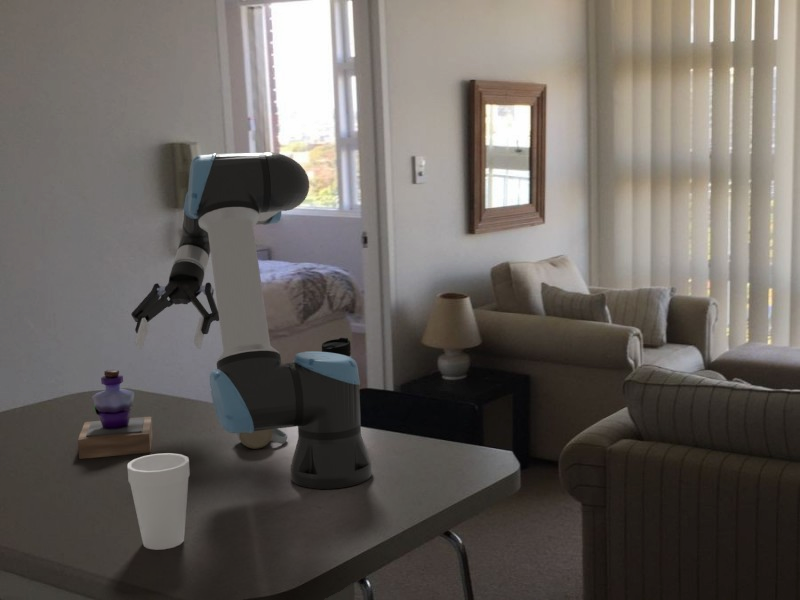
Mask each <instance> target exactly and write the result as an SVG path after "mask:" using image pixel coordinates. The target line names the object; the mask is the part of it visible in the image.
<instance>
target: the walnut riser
mask: <svg viewBox="0 0 800 600" xmlns="http://www.w3.org/2000/svg"><path fill="white" fill-rule="evenodd" d="M102 427H103V426H102V423H101V420H94V421H84V423H83V426H82V429H81V430H80V433H79V436H78V439H77V445H78V446H77V449H78V456H79V457H78V459H80V460H82V459H93V458H105V457H114V456H117V457H118V456H127V455H137V454H138V455H139V454H149V453H151V451H152V442H153V436H154V434H153V433H154V432H153V431H154V430H153V429H154V428H153V418H152V416H141V417H130V418H129V424H128V425H127V426H125V428H121V429H117V430H106V429H104V428H102Z"/></svg>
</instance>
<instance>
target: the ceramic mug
mask: <svg viewBox="0 0 800 600" xmlns="http://www.w3.org/2000/svg"><path fill="white" fill-rule="evenodd" d="M236 435H237V437H238V439H239V441H240V442H241V444H242V445H243V446H245V447H247V448H249V449H252V450H253V449H254V450H258V449H263V448H264V447H266V446H267V445H268V444H270V442H273V443H275V444H283V445H284V444H286V443H287V439H288V434H287V433H285V432H284V431H283V430H281V429H280V428H278V429H269V430H262V431H254V432H253V433H247V432H246V433H236Z"/></svg>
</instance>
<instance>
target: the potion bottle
mask: <svg viewBox="0 0 800 600" xmlns="http://www.w3.org/2000/svg"><path fill="white" fill-rule="evenodd" d="M100 379H101V381H100V383H101V385H104V387H105V390H102V391H99V392H97V393H95V394H94V395H92V396H91V398H92V401H93V405H94V406H93V409H94V412H95V414H96V415H98V416H99V421H101V423H102V426H103V427H102V428H104V429H106V430H117V429H121V428H125V426H127V425H128V424H129V418H131V410H132V409H131V408H132V407H133V405H134V404H133V403H134V399H135V391H133V390H129V389H124V388H121V384H122V383H123V382H124V375H122V374H120V369H119V370H118V369H107V370H105V371H104V375H103V376H101V378H100Z"/></svg>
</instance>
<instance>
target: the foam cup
mask: <svg viewBox="0 0 800 600" xmlns="http://www.w3.org/2000/svg"><path fill="white" fill-rule="evenodd" d="M190 472H191V471H190V459H189V456H186V455H184V454H181V453H172V452H170V453H169V452H166V453H154V454H149V455H143V456H140V457H137V458H134V459H132V460H131V461H129V462H128V463H127V478H128V479H127V480H128V483H129V485H130V489H131V494H132V499H133V503H134V508H135V512H136V517H137V523H138V526H139V531H140V536H141V540H142V543H143V544H142V545H143V547H145V549H149V550H156V551H158V550H166V549H168V550H169V549H172V548H176V547H177V546H180V545H182V544H183V543H184V542H185V532H186V531H185V530H186V517H187V505H188V503H187V502H188V501H187V500H188V489H189V477H190V476H191V475H190V474H191V473H190Z"/></svg>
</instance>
